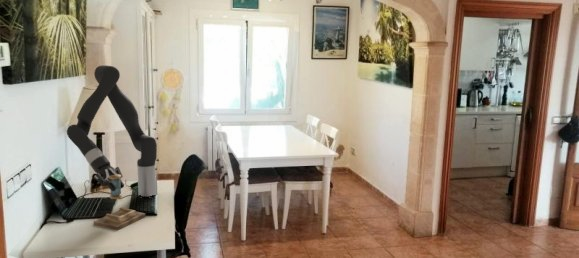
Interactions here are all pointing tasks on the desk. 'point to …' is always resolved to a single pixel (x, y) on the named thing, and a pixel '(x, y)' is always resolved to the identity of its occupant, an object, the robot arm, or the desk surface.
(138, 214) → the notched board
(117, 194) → the bobbin
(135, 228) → the desk surface
